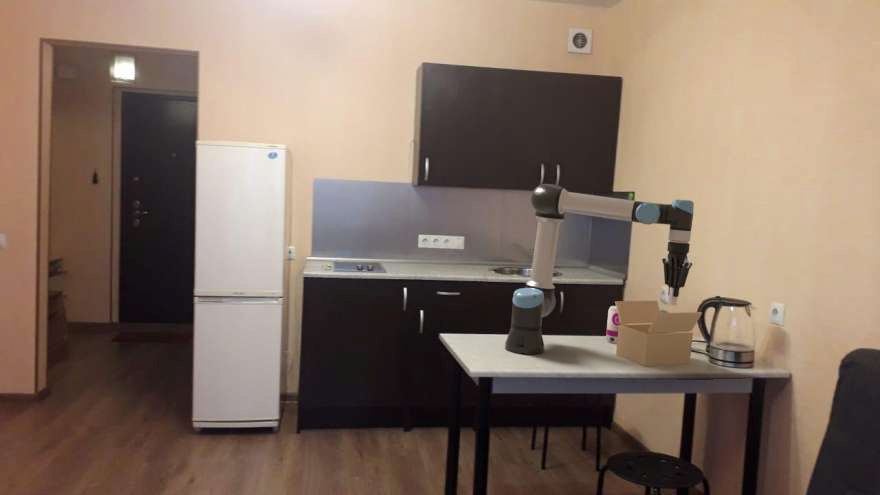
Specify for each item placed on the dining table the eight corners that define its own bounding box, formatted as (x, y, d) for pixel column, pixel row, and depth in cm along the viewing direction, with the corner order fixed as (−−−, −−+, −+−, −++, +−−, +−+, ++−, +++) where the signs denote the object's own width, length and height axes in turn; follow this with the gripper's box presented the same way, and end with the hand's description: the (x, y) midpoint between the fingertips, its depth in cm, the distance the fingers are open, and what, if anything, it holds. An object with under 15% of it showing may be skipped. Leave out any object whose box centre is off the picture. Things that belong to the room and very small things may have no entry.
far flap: (615, 301, 251) (615, 301, 251) (621, 323, 248) (620, 323, 248) (656, 300, 259) (656, 301, 260) (662, 322, 256) (661, 322, 256)
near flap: (647, 331, 234) (648, 332, 234) (657, 313, 230) (658, 314, 229) (690, 330, 242) (691, 331, 242) (701, 312, 238) (702, 313, 237)
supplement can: (626, 345, 268) (629, 310, 266) (606, 343, 269) (609, 308, 268) (624, 341, 276) (627, 306, 274) (605, 339, 277) (608, 305, 276)
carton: (644, 366, 234) (647, 334, 233) (616, 355, 249) (618, 324, 248) (689, 363, 243) (692, 332, 242) (660, 352, 258) (662, 323, 257)
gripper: (700, 244, 230) (693, 308, 233) (674, 240, 242) (667, 301, 244) (684, 243, 227) (677, 308, 230) (658, 239, 239) (652, 301, 241)
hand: (672, 304), depth 237 cm, fingers closed
